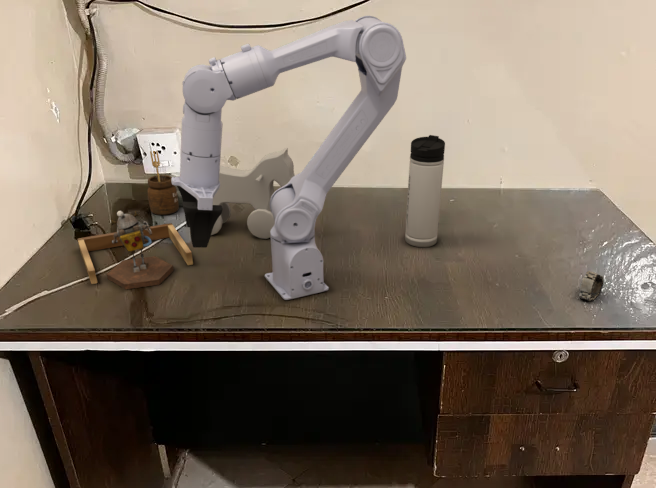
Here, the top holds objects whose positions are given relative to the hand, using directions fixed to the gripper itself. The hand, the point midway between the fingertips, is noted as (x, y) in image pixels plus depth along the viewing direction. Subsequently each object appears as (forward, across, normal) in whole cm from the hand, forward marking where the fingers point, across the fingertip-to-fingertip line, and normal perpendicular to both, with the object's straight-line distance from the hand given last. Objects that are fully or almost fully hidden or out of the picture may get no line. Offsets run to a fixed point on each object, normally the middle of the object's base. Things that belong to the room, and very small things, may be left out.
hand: (196, 236), depth 98 cm
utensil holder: (+11, -38, -2) cm, 39 cm away
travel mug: (+3, -7, +44) cm, 45 cm away
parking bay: (+11, -16, -8) cm, 21 cm away
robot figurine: (+11, -8, -8) cm, 16 cm away
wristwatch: (0, +22, +61) cm, 65 cm away
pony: (+8, -22, +13) cm, 26 cm away
